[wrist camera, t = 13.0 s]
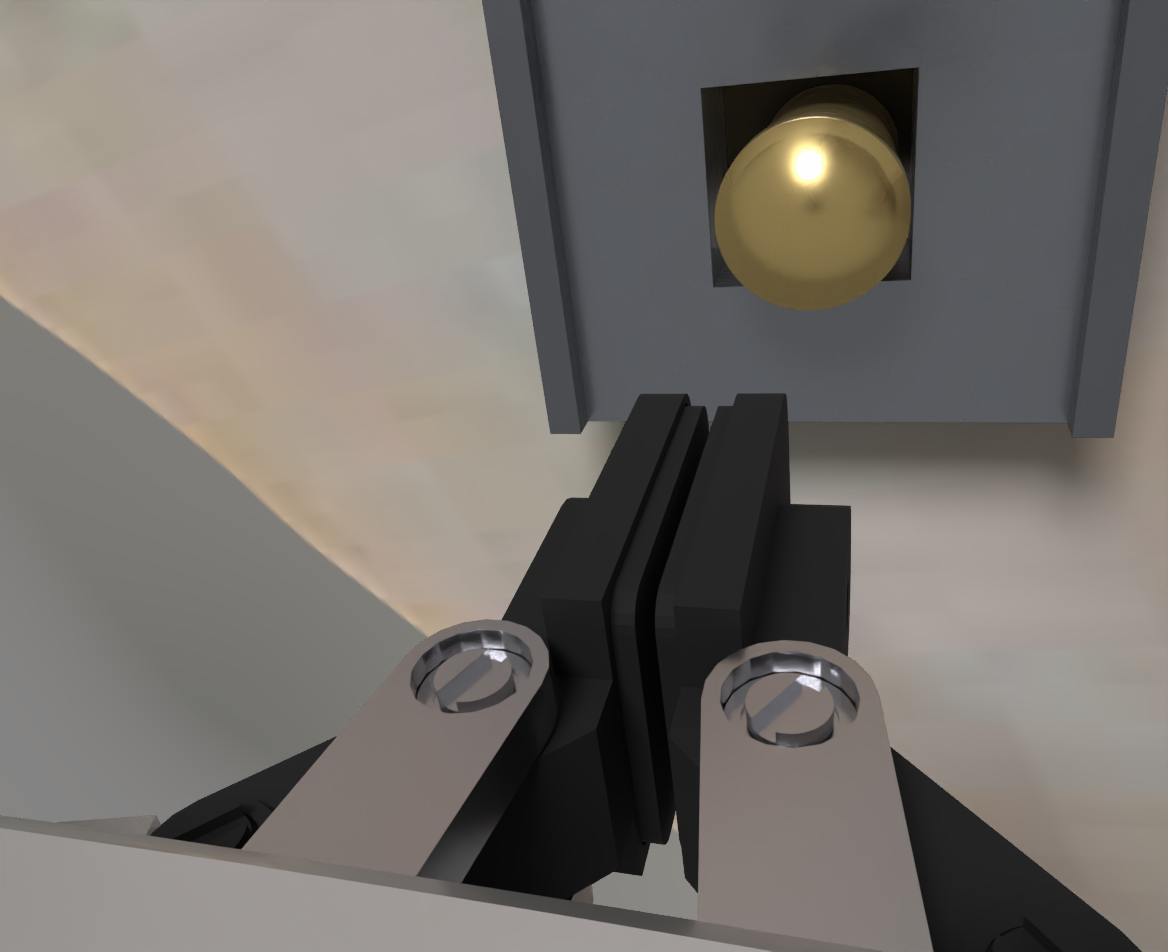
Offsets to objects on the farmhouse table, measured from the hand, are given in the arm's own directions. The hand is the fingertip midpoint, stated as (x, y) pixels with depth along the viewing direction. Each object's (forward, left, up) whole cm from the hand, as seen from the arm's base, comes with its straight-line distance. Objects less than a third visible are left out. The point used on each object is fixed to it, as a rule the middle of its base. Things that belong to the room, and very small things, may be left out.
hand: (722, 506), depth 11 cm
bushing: (0, 0, -21) cm, 21 cm away
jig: (0, 0, -21) cm, 21 cm away
